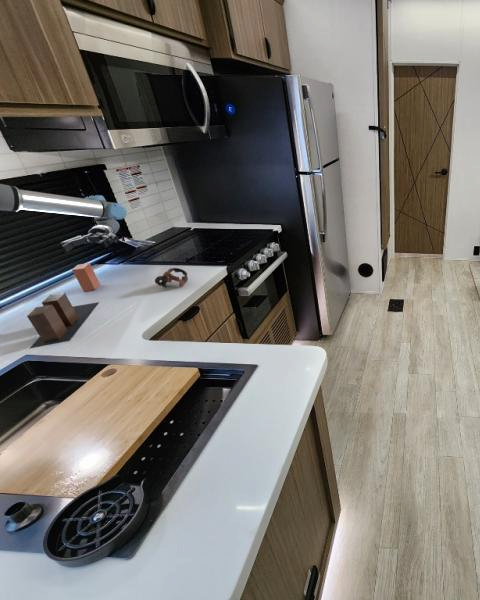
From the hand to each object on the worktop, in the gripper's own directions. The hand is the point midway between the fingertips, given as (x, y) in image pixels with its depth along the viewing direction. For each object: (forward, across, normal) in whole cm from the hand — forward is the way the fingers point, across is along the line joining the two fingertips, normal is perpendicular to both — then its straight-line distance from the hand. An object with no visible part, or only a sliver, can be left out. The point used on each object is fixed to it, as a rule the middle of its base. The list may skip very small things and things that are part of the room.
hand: (84, 247), depth 141 cm
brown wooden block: (+42, -3, -14) cm, 44 cm away
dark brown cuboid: (+51, -3, -14) cm, 53 cm away
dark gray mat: (+42, -3, -15) cm, 45 cm away
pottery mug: (+22, -32, -15) cm, 41 cm away
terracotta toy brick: (+10, 0, -15) cm, 18 cm away
